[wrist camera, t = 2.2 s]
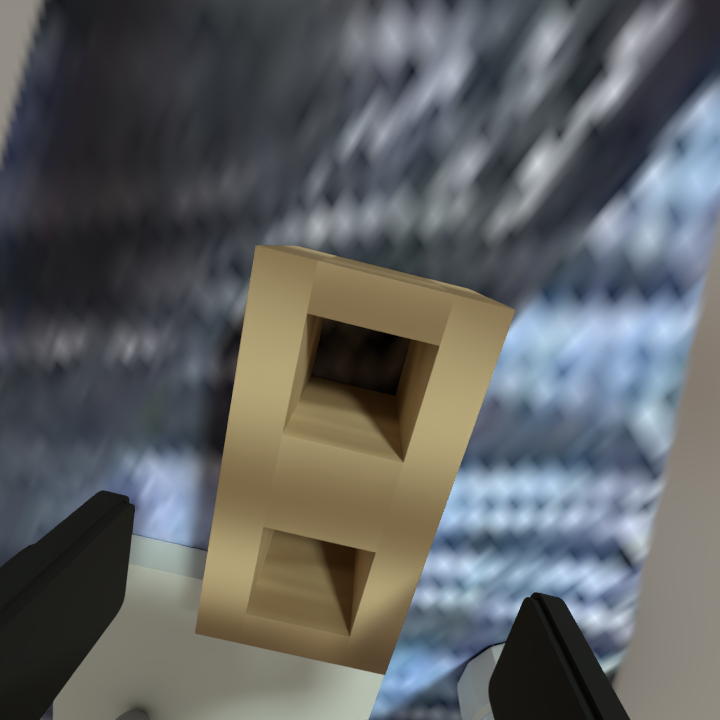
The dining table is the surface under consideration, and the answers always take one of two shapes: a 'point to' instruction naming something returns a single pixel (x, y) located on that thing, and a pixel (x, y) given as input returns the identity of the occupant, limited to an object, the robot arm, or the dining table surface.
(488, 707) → the white cup
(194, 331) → the dining table surface
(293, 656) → the post board
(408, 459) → the tan hollow block
